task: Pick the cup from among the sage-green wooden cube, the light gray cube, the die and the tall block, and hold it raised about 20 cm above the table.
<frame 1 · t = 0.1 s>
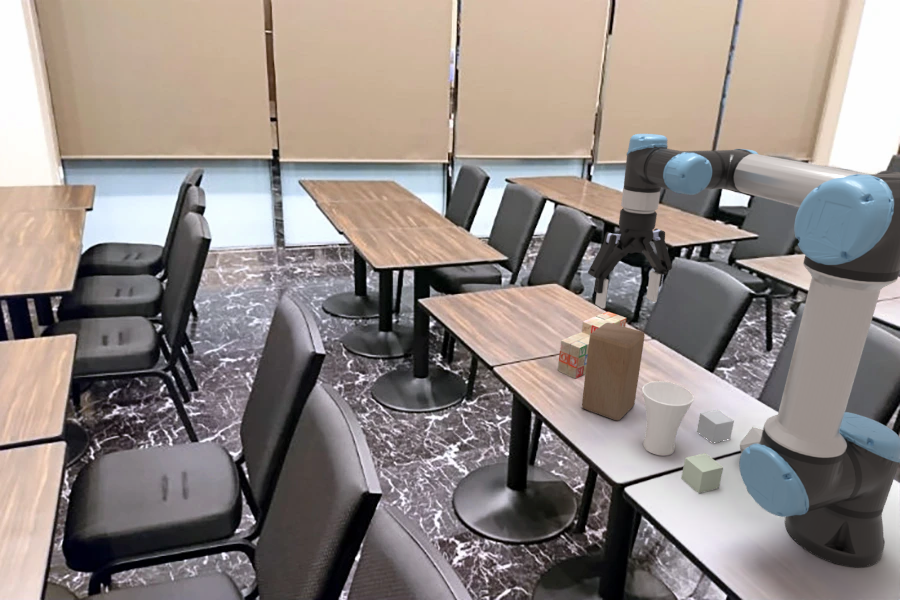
hand: (626, 303, 141), 28 cm above the table, tool pointing down, fingers open, 13 cm apart
light gray cube: (713, 436, 143), on the table
stack of blocks: (590, 364, 175), on the table
cup: (658, 448, 138), on the table
block: (607, 408, 153), on the table
die: (757, 465, 133), on the table
sage cube: (699, 483, 126), on the table
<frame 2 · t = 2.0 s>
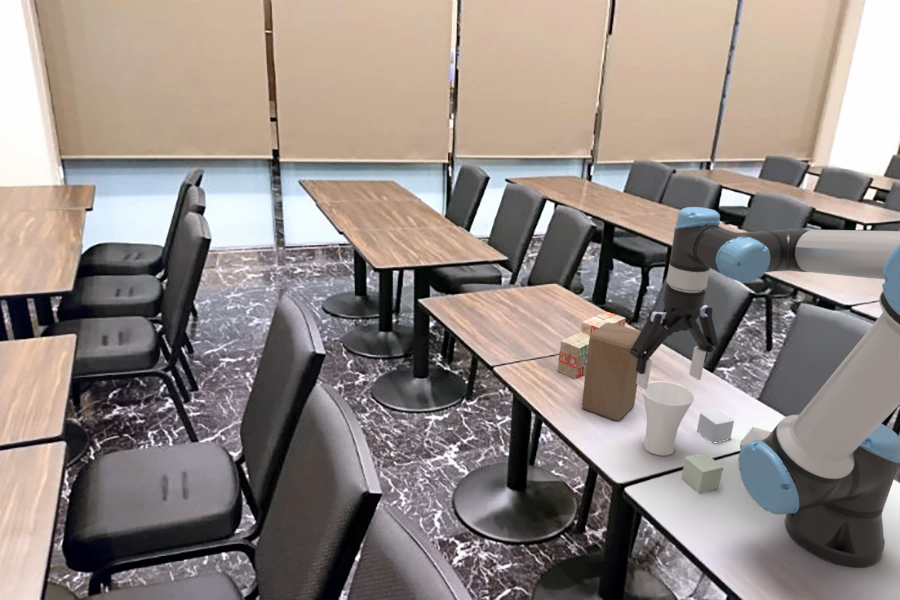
hand: (668, 381, 132), 16 cm above the table, tool pointing down, fingers open, 13 cm apart
nothing on the table moved.
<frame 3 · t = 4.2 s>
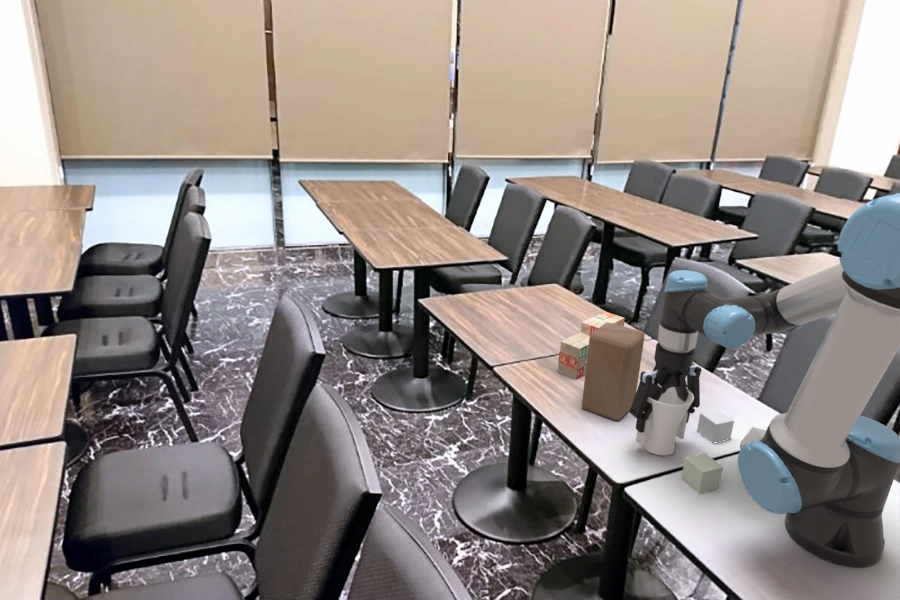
hand: (659, 439, 137), 2 cm above the table, tool pointing down, fingers closed on cup, 9 cm apart
cup: (658, 448, 138), on the table, touching gripper
everything else where it was.
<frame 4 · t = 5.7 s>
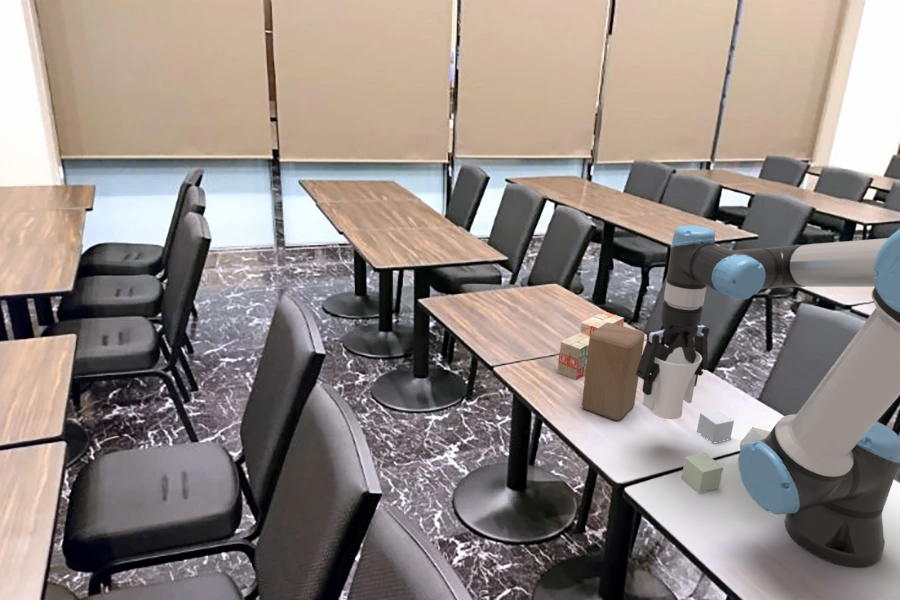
hand: (667, 403, 133), 11 cm above the table, tool pointing down, fingers closed on cup, 9 cm apart
cup: (665, 412, 134), point 9 cm above the table, touching gripper
everything else where it was.
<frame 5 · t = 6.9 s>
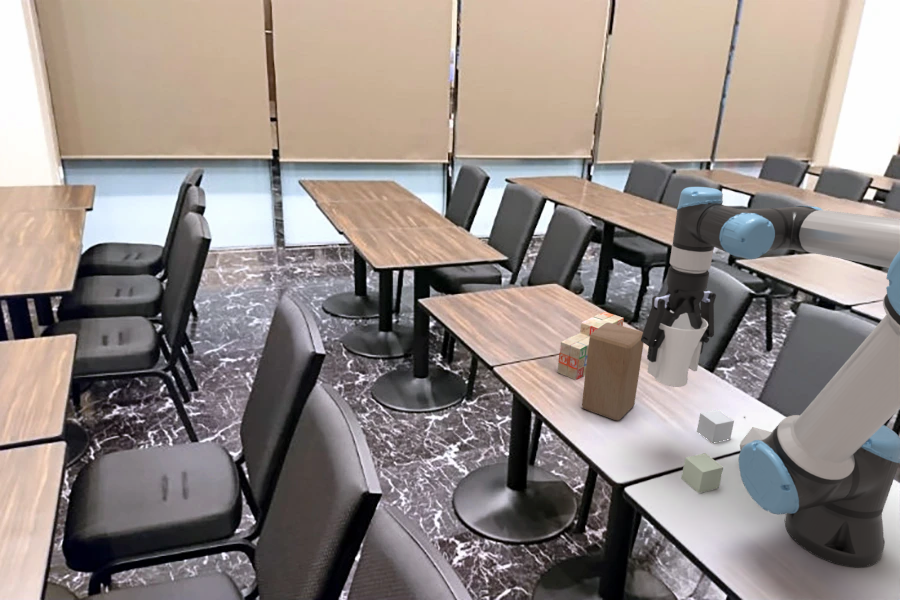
hand: (672, 371, 131), 19 cm above the table, tool pointing down, fingers closed on cup, 9 cm apart
cup: (670, 380, 132), point 16 cm above the table, touching gripper
everything else where it was.
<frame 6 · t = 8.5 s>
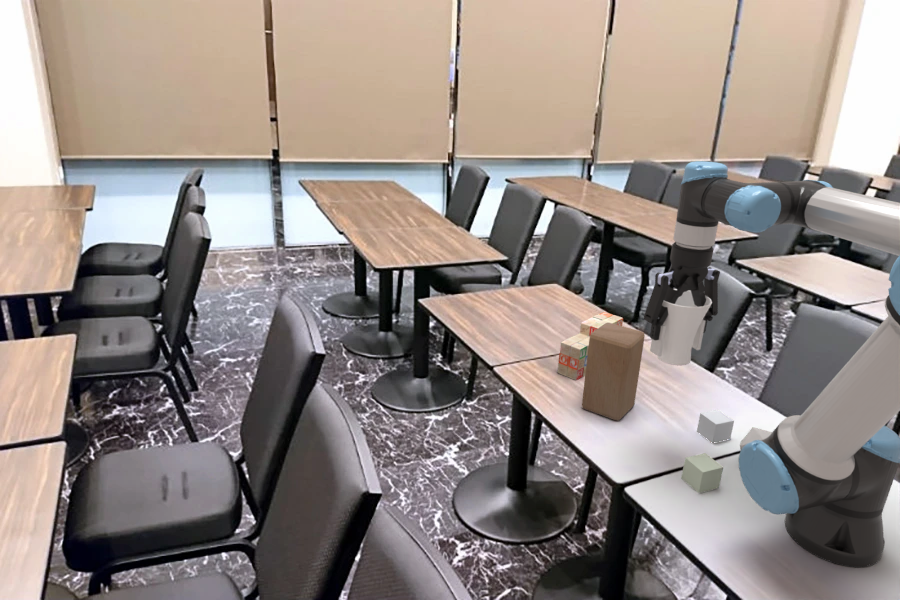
hand: (675, 350, 129), 23 cm above the table, tool pointing down, fingers closed on cup, 9 cm apart
cup: (673, 359, 130), point 21 cm above the table, touching gripper
everything else where it was.
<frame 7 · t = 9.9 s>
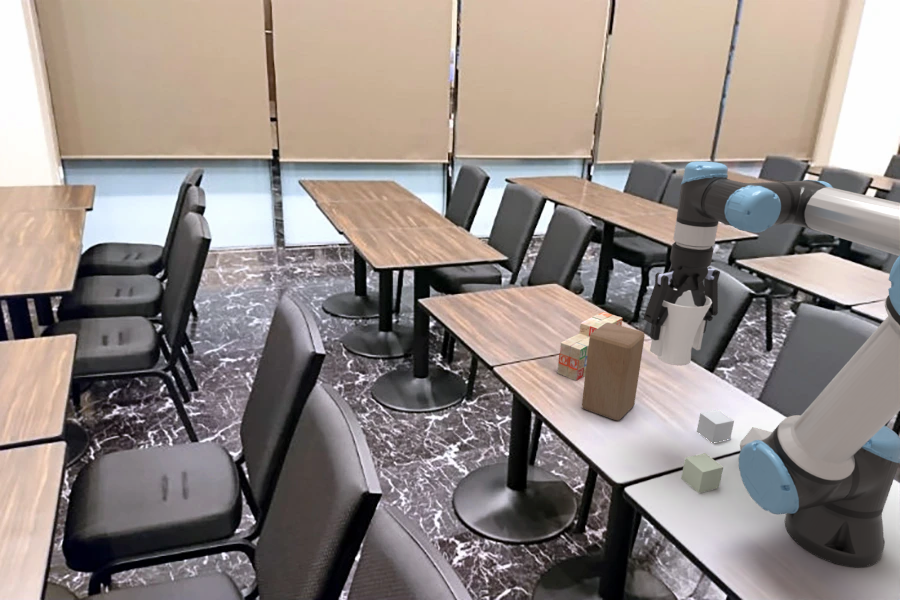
hand: (675, 350, 129), 23 cm above the table, tool pointing down, fingers closed on cup, 9 cm apart
cup: (673, 359, 130), point 21 cm above the table, touching gripper
at the end: the gripper is holding cup; cup point 21.2 cm above the table; light gray cube moved 0.1 cm from its start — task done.
